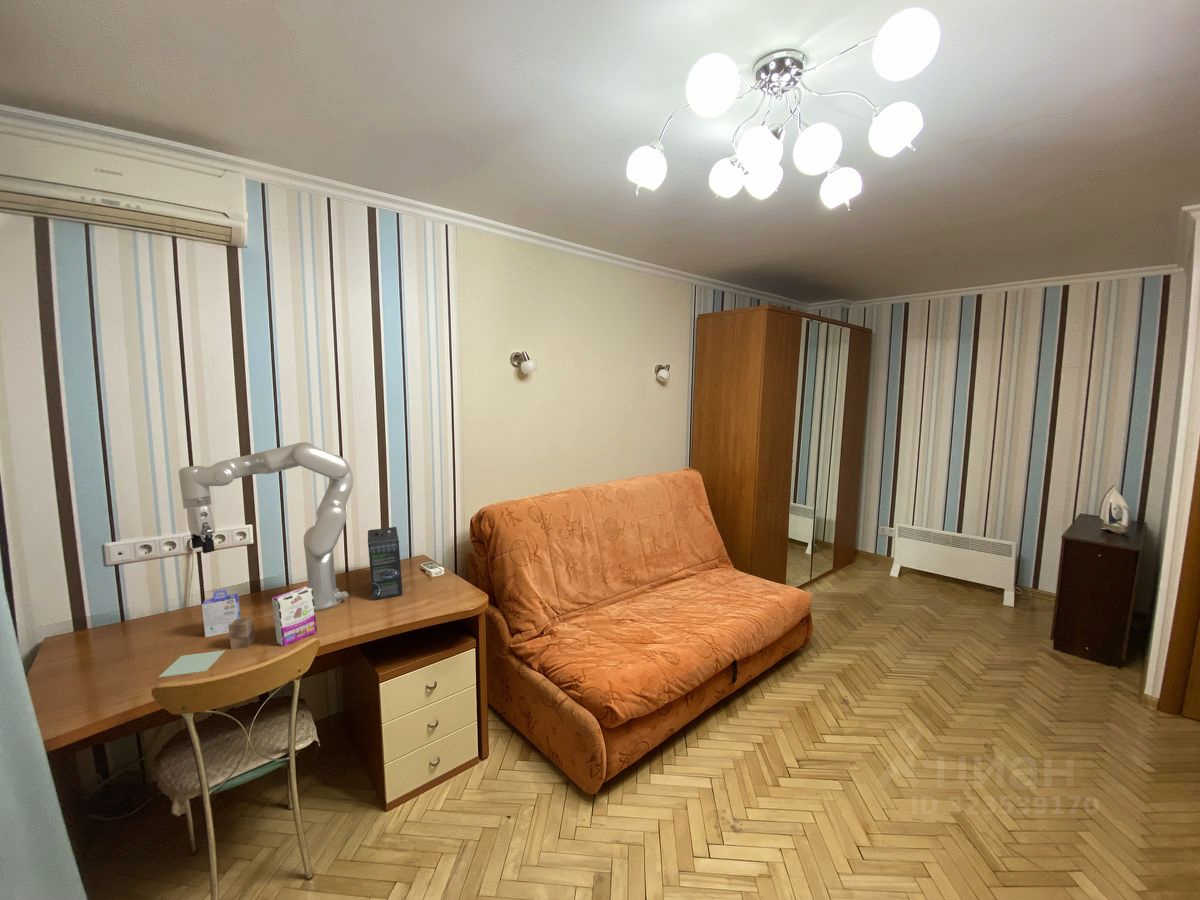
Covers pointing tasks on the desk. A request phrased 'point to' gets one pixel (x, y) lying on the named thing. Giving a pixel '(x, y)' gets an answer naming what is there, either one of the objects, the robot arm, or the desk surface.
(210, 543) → the robot arm
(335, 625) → the desk surface
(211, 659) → the green mat
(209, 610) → the ink cartridge box
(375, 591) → the headset box
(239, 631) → the walnut block
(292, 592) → the candy bar box
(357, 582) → the desk surface
